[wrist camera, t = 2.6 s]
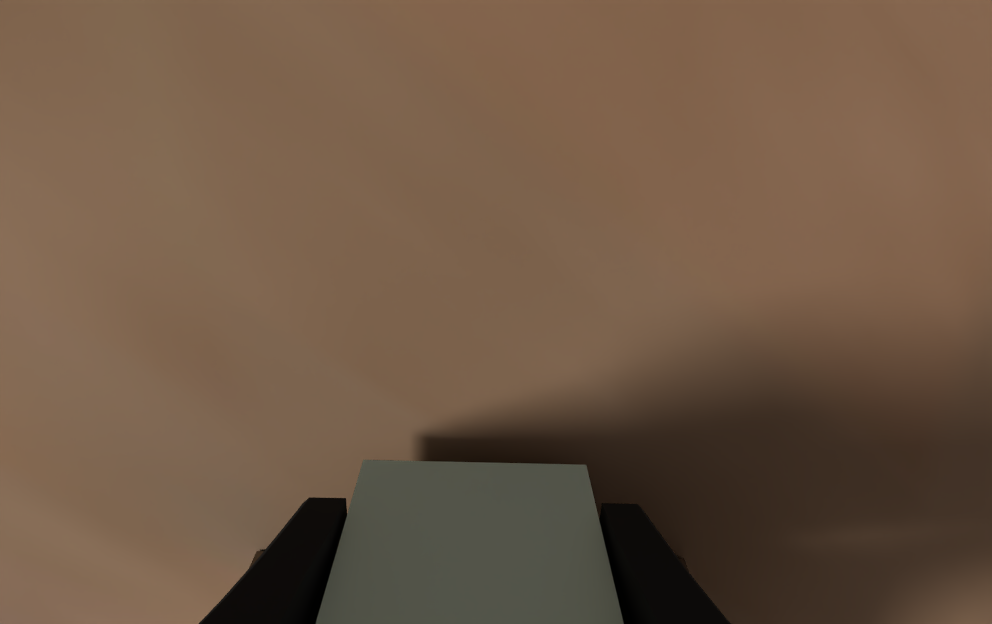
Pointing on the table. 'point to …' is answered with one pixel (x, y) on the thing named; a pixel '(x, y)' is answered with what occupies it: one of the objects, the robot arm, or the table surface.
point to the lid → (471, 547)
